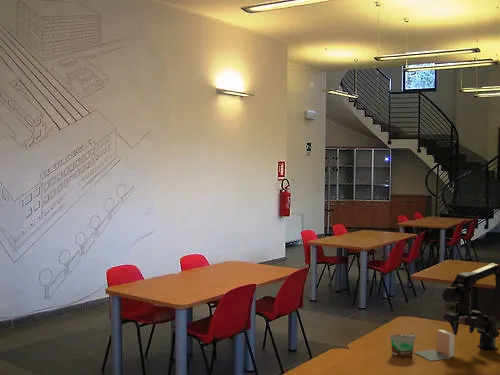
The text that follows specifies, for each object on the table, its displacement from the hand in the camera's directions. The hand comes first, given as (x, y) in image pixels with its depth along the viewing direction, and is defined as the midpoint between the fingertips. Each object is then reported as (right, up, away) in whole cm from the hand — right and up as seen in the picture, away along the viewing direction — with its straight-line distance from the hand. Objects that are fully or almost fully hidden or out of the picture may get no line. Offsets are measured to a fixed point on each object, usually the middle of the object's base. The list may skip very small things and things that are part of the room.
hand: (463, 334), depth 254 cm
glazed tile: (-10, -8, -3) cm, 13 cm away
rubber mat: (-17, -8, -6) cm, 19 cm away
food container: (-29, -8, -8) cm, 31 cm away
